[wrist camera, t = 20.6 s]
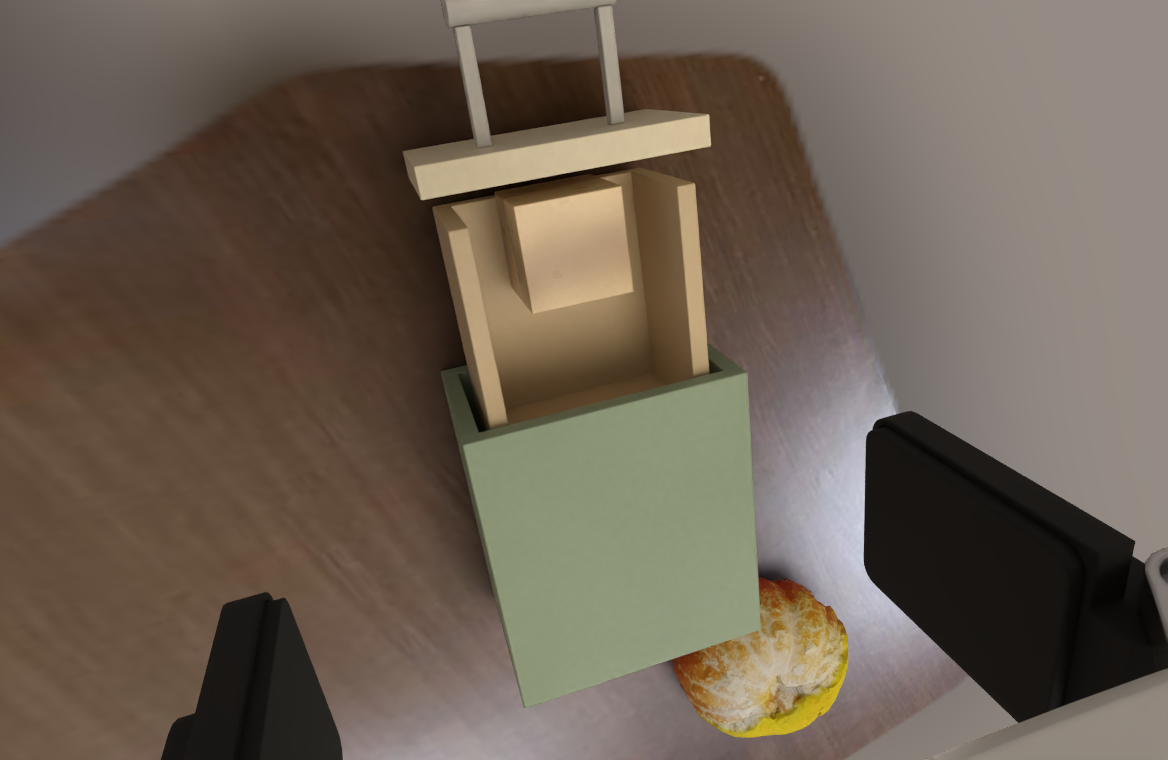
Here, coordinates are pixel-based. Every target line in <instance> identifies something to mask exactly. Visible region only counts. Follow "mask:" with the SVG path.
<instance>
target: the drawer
mask: <svg viewBox="0 0 1168 760" xmlns="http://www.w3.org/2000/svg"><path fill="white" fill-rule="evenodd" d="M616 2H617V0H441V6H442V11H443V16H444V19H445V23H446V25H447V27H448V28H453V27H455V28H453V32H454V38H455V43H456V48H457V53H458V59H459V64H460V69H461V74H462V79H463V85H464V90H465V95H466V100H467V105H468V111H469V116H470V121H471V126H472V132H473V137H474V139H470V140H465V141H459V142H453V143H447V144H441V145H436V146H430V147H424V148H418V149H412V150H407V151H403V155H404V159H405V164H406V168H407V172H408V177H409V179H410V181H411V183H412V185H413V186H414V188H415V190H416V192H417V193H418V195H419V197H420V199H421V200H426V199H432V198H437V197H442V196H448V195H453V194H458V193H464V192H469V191H474V190H480V189H485V188H490V187H496V186H501V185H507V184H512V183H517V182H523V181H528V180H533V179H539V178H544V177H549V176H555V175H560V174H565V173H571V172H576V171H581V170H587V169H592V168H597V167H603V166H608V165H613V164H619V163H624V162H629V161H635V160H640V159H645V158H651V157H656V156H661V155H667V154H672V153H678V152H683V151H688V150H694V149H699V148H704V147H710V146H711V138H710V123H709V114H699V113H687V112H675V111H664V110H652V109H644V110H638V111H632V112H627V113H624V109H623V100H622V91H621V82H620V73H619V64H618V55H617V46H616V37H615V29H614V19H613V11H612V6H611V5H614V4H616ZM595 7H596V8H595ZM588 8H594V15H595V24H596V32H597V40H598V49H599V57H600V65H601V74H602V82H603V90H604V99H605V107H606V116H603V117H598V118H592V119H586V120H580V121H574V122H569V123H563V124H557V125H551V126H546V127H540V128H534V129H528V130H522V131H517V132H511V133H505V134H499V135H493V136H490V130H489V125H488V119H487V114H486V108H485V103H484V97H483V92H482V86H481V81H480V75H479V70H478V64H477V59H476V53H475V48H474V43H473V37H472V31H471V27H470V25H475V24H481V23H489V22H496V21H503V20H510V19H517V18H524V17H531V16H538V15H546V14H553V13H560V12H567V11H574V10H580V9H588ZM597 177H599V178H602V179H605V180H607V181H610V182H612V183H615V184H618V185H620V186H622V194H623V203H624V211H625V220H626V229H627V237H628V246H629V255H630V263H631V272H632V280H633V289H634V292H631V293H627V294H622V295H618V296H613V297H609V298H604V299H600V300H595V301H591V302H586V303H582V304H578V305H573V306H569V307H564V308H560V309H555V310H551V311H546V312H542V313H538V314H532V313H531V312H530V310H529V309H528V308H527V307H526V305H525V304H524V303H523V301H522V300H521V299H520V297H519V296H518V295H517V294H516V292H515V291H514V290H513V288H512V285H511V280H510V275H509V269H508V264H507V258H506V253H505V248H504V242H503V237H502V231H501V226H500V221H499V215H498V210H497V205H496V199H495V195H491V196H486V197H481V198H475V199H470V200H465V201H460V202H454V203H449V204H444V205H438V206H434V207H433V208H432V209H433V213H434V218H435V222H436V227H437V231H438V236H439V240H440V245H441V249H442V254H443V259H444V263H445V268H446V272H447V277H448V281H449V286H450V290H451V295H452V299H453V304H454V308H455V313H456V317H457V322H458V326H459V331H460V335H461V340H462V344H463V349H464V353H465V358H466V362H467V367H468V371H469V376H470V380H471V385H472V389H473V394H474V398H475V403H476V407H477V412H478V416H479V421H480V424H481V427H482V430H483V432H484V431H488V430H492V429H496V428H500V427H504V426H508V425H512V424H516V423H519V422H523V421H527V420H531V419H535V418H539V417H543V416H547V415H551V414H555V413H559V412H563V411H567V410H571V409H574V408H578V407H582V406H586V405H590V404H594V403H598V402H602V401H606V400H610V399H614V398H618V397H622V396H626V395H630V394H633V393H637V392H641V391H645V390H649V389H653V388H657V387H661V386H665V385H669V384H673V383H677V382H681V381H685V380H689V379H692V378H696V377H700V376H704V375H708V374H709V361H708V348H707V335H706V321H705V308H704V295H703V282H702V269H701V256H700V243H699V230H698V217H697V204H696V190H695V183H693V182H689V181H686V180H682V179H679V178H676V177H672V176H669V175H665V174H662V173H658V172H655V171H652V170H648V169H644V168H641V167H639V168H634V169H629V170H623V171H618V172H613V173H607V174H602V175H597Z"/></svg>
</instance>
